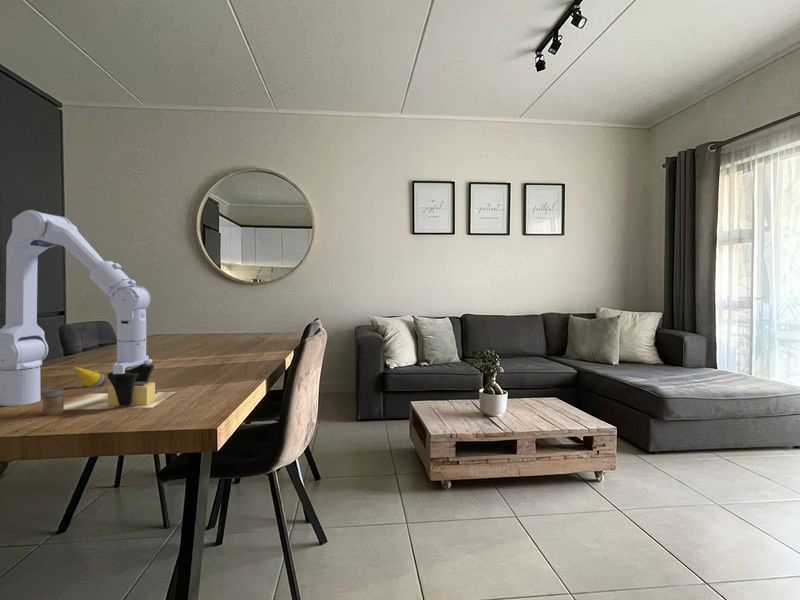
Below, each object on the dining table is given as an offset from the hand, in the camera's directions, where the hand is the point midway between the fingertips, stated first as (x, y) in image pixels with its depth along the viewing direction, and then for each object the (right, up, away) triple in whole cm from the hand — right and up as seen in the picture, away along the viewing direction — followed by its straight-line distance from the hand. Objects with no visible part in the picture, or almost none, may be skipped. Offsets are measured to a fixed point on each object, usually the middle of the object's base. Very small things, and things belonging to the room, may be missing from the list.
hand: (132, 400), depth 108 cm
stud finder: (0, 0, 0) cm, 0 cm away
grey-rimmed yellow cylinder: (-21, -1, +18) cm, 28 cm away
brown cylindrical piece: (-11, -2, -10) cm, 15 cm away
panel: (-4, -2, +2) cm, 5 cm away
